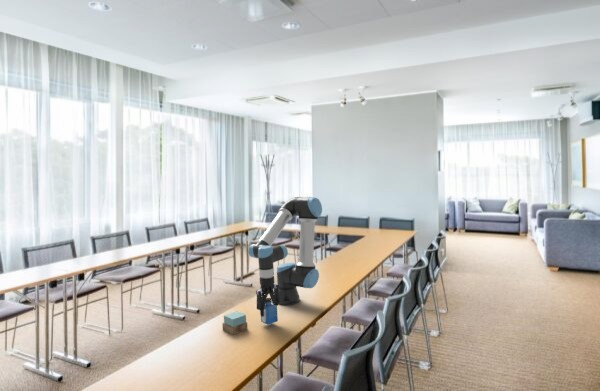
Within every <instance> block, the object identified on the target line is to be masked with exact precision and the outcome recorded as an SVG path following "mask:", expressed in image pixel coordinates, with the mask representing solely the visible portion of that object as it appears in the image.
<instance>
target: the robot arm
mask: <svg viewBox="0 0 600 391" xmlns="http://www.w3.org/2000/svg"><path fill="white" fill-rule="evenodd" d="M322 212H323V205H322V202H321V200H320V199H319V198H317V197H313V196H295V197H292V198H290V199H288V200H287V201H285V203H283V204H282V205H281V207H279V209H278V213H277V214H276V216H275V217H274V219H273V220H272V222H271V223H270V224H269V226H268V227H267V229H266V230H265V231H264V232H263V234H262V235H261V236H260V238H259V240H258V241H257V243H252V244H251V245H249V247H248V256H250V257H251V258H255V259H258V260H257V261H258V272H259V285H260V287H259V289H258V290H255V294H256V310H258V311H259V313H260V317H261V316H262V322H261V323H263V322H265V323H266V310H265V309H264V308H265V303H266V298H268V295H269V298H271V301H272V303H271V304H273V305H274V306H275V307H276V309H277V310H278V306H279V305H283V306H289V305H290V306H291V305H296V304H297V303H299V302H300V295H299V292H298V291H299V290H298V288H297V287H299V288H305V289H313V288H315V287H316V285H317V284H318V281H319V278H320V273H319V269H317V268H316V264H315V263H314V248H315V234H316V233H315V232H316V231H315V228H316V222H317V221H318V219H319V217H321V215H322ZM294 217H298V221H300V234H299V235H300V236H299V252H298V262H297V263H295V262H286V263H282V264H279V265H278V266H277V268H276V282H277V284H276V283H275V276H274V275H275V268H274V263H276V262H278V261H282V260H283V259H285V258H287V257H288V254H289V253H288V252H289V251H288V248H287V247H286V246H285V245H284V244H279V245H273V243H274V242H275V241H276V240H277V238H278V237H279V235H280V233H281V232H282V231H283V229H284V228H285V226H286V225H287V224H288V223H289V221H291V220H293V218H294ZM265 323H264V324H265Z"/></svg>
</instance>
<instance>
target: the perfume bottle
mask: <svg viewBox="0 0 600 391" xmlns="http://www.w3.org/2000/svg"><path fill="white" fill-rule="evenodd" d="M264 309H265V310H266V323H265V322H262V316H261V315H260V322H261V323H263V324H265V325H267V326H269V325H272V324H274V323H276V322H278V320H279V318H278V308H277V309H276V307H275V306H274V305H273V303H272V300H271V297H266V303H265V308H264Z"/></svg>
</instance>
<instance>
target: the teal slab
mask: <svg viewBox="0 0 600 391" xmlns="http://www.w3.org/2000/svg"><path fill="white" fill-rule="evenodd" d="M246 322H247V315H246V314H245V313H242V312H241V311H237V310H235V311H233V312H230V313H227V314H224V315H223V323H225V324H227V325H229V326H231V327H235V326H238V325H241V324H243V323H246Z"/></svg>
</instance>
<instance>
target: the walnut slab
mask: <svg viewBox="0 0 600 391" xmlns="http://www.w3.org/2000/svg"><path fill="white" fill-rule="evenodd" d="M246 330H248V322H247V321H246V323H243V324H241V325H238V326H235V327H231V326H229V325H227V324H225V323H224V322H222V331H224V332H226V333H228V334H230V335H231V336H234V335H236V334H239V333H242V332H244V331H246Z"/></svg>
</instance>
